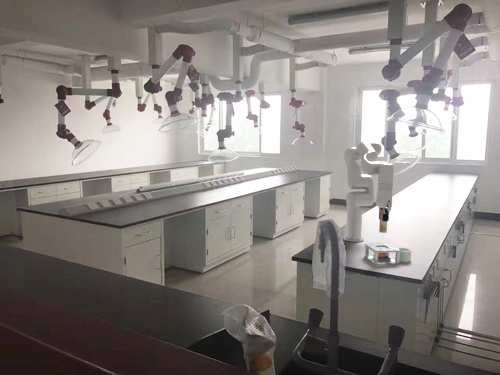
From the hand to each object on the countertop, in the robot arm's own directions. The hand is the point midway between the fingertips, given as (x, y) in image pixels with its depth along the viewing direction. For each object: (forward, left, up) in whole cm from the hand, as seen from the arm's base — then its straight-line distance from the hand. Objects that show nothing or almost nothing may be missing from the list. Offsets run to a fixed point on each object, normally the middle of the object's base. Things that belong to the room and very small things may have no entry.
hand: (383, 219), depth 216 cm
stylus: (0, 0, -7) cm, 7 cm away
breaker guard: (0, 0, -22) cm, 22 cm away
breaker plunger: (0, 0, -21) cm, 21 cm away
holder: (+2, +12, -22) cm, 25 cm away
